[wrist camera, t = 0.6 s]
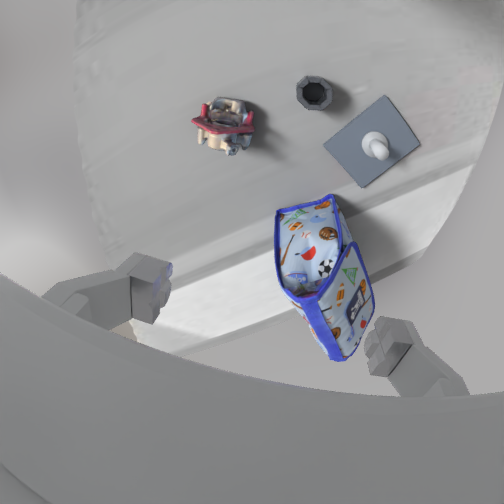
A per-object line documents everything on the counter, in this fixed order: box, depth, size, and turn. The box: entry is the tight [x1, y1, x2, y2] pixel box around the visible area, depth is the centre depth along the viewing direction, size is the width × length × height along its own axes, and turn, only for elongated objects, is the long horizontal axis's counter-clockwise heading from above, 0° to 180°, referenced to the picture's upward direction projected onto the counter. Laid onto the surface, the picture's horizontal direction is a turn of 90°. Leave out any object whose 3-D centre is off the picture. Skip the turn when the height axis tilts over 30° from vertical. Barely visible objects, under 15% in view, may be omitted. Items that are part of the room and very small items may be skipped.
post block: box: [323, 95, 420, 189], centre depth 43 cm, size 16×12×6 cm
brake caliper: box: [191, 97, 255, 156], centre depth 45 cm, size 11×11×12 cm
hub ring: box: [296, 76, 332, 110], centre depth 39 cm, size 6×6×5 cm
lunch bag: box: [274, 194, 375, 362], centre depth 52 cm, size 23×17×27 cm
